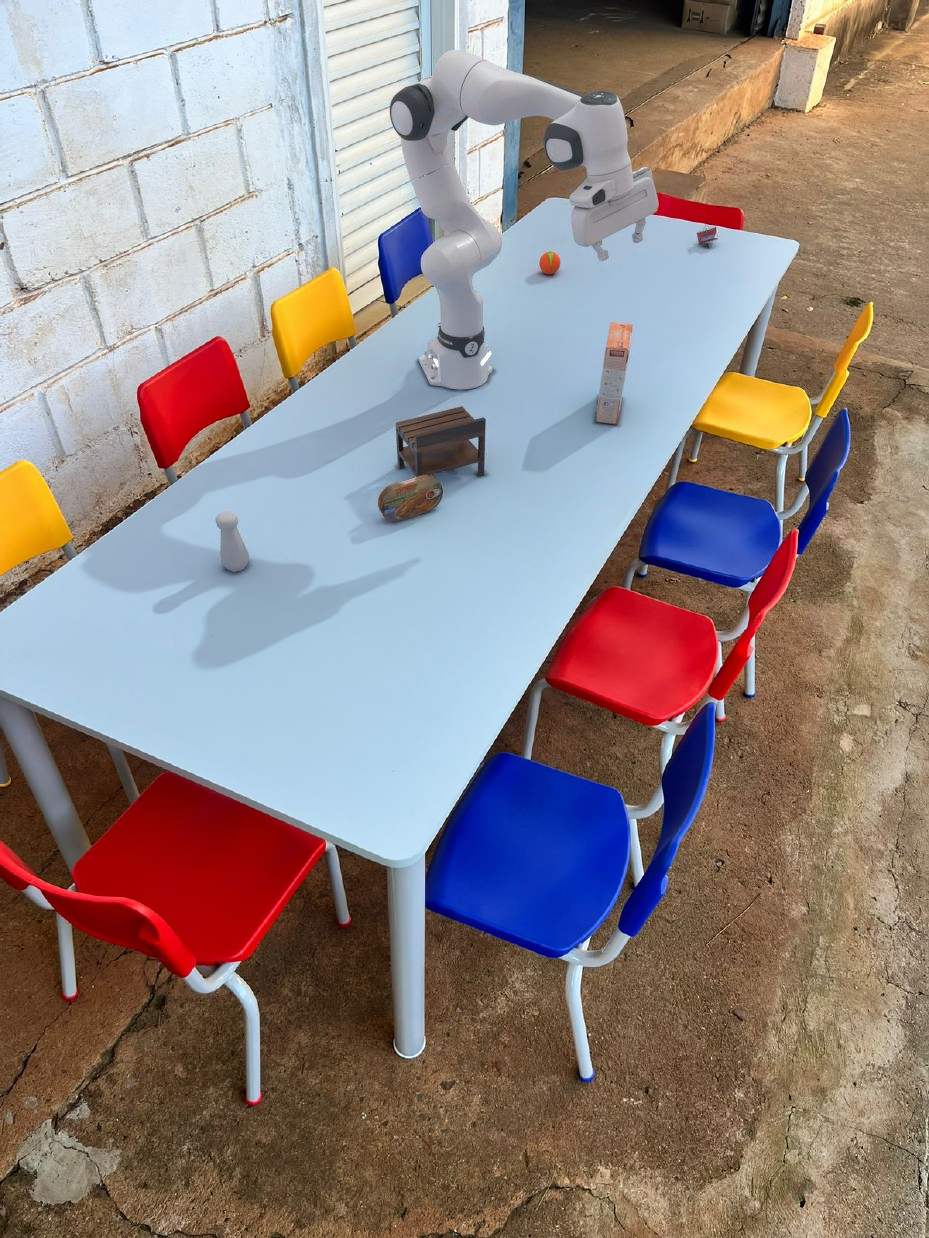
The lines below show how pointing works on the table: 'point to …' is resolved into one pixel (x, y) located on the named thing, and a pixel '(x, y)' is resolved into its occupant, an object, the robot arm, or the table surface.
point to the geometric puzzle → (708, 235)
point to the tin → (410, 497)
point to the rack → (441, 442)
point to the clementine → (549, 262)
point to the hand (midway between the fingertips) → (621, 250)
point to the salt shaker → (231, 542)
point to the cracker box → (614, 372)
